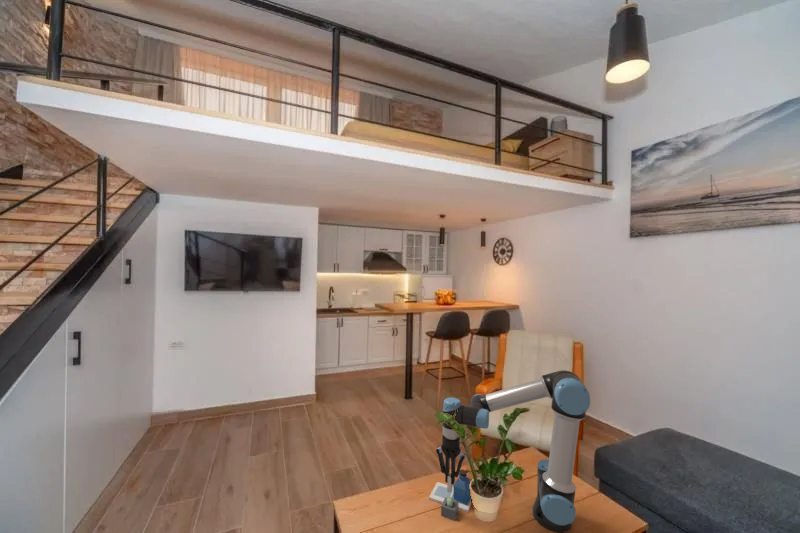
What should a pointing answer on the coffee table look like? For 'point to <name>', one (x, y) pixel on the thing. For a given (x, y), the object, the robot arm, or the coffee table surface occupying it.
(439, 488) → the picture board
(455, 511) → the button housing
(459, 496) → the perfume bottle
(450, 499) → the button
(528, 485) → the coffee table surface
